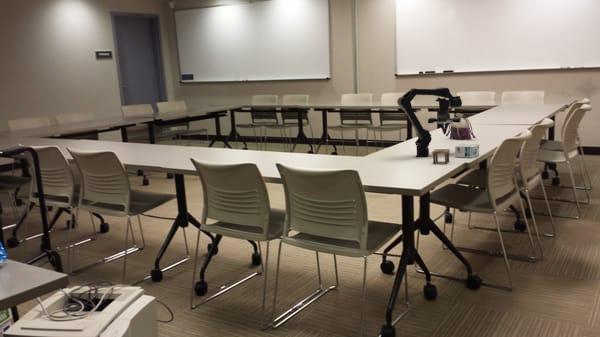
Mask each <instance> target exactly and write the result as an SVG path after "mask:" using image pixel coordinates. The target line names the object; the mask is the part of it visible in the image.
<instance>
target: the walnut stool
mask: <svg viewBox="0 0 600 337" xmlns="http://www.w3.org/2000/svg"><path fill="white" fill-rule="evenodd" d="M431 153H432V156H433V157H432V163H433V165H436V164H437V162H438V161H439V160H438V159H439V158H438V157H439V156H438V154H440V155H444V164H445V165H448V163H449V162H450V148H446V149H445V148H435V149H434V150H433V151H432V152H431Z"/></svg>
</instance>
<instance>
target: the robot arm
mask: <svg viewBox="0 0 600 337" xmlns="http://www.w3.org/2000/svg"><path fill="white" fill-rule="evenodd" d="M416 96H435V97H437V99H435V102H436V103H437V102H438V115H437V118H436V117H428V119H427V123H428V124H434V123H437V125H439V126H440V128H441V131H442V134H443V135H446V134H447V132H448V129H449V125H450V124H452V122H454V123H459V122H461V118H460V117H457V116H453V117H452V118H451V115H450V108H451V109H453V108H454V109H455V108H461V107H462V105H463V100H462V98H461V96H460V95H456V96H453V94H452V93H451V90H450V89H449V88H448V87H436V88H414V87H413V88H411V89H410V90H408V91H407V92H406V93H405V94H403V95H402V96H400V97H398V99H397V101H396V102H397V105H398V106H399V108H400V109H401V110H402V111H403V112H404V113H405V114H406V115H407V117H408V119H409V121H410V123H411V124H412V126H413V127H414V130H415V131H416V135H417V140H416V141H415V142H414V143H415V146H416V156H415V157H416V158H426V157H428V156H430V148H429V146H430V143H431V141H432V139H433V138H432V136H433V135H432V134H431V132H430V131H429V129H425V128H424V127H423V126H422V124H421V122H420V120H419V119H418V116H417V115H416V114H415V112H414V110H413V106H412V101H413V100H414V98H415V97H416ZM451 121H452V122H451Z"/></svg>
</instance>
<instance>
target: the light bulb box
mask: <svg viewBox="0 0 600 337" xmlns="http://www.w3.org/2000/svg"><path fill="white" fill-rule="evenodd" d="M479 155H480V144H479V143H477V144H476V143H460V144H458V145H455V146H454V158H466V159H467V158H468V159H470V158H471V159H474V158H476V157H478V156H479Z"/></svg>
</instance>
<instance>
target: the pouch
mask: <svg viewBox="0 0 600 337" xmlns="http://www.w3.org/2000/svg"><path fill="white" fill-rule="evenodd" d="M464 115H465V114H464V113H459V112H457V113H455V117H460V118H461V122H459V123H454V122H453V121H451V124H449V126H448V129H447V132H446V134H445V137H448V136H449V139H450V138H453V139H452V140H465V139H471V140H473V139H476V136H475V135H474V132H473V128H472V124H471V122H470V121H469V119H468V117H465V116H464Z"/></svg>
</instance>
